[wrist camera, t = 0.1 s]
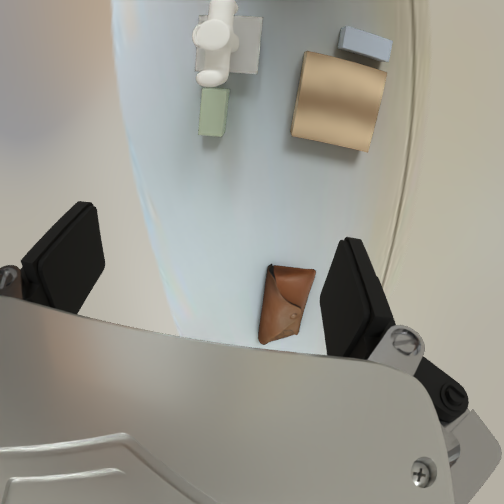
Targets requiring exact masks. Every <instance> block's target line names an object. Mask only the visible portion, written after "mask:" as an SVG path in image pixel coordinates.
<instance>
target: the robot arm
mask: <svg viewBox="0 0 504 504" xmlns="http://www.w3.org/2000/svg"><path fill="white" fill-rule="evenodd" d="M21 263H22V266H23V267H22V268H21V269H19V268H18V267H17V266H14V265H7V266H3V267H1V268H0V504H468V503H469V501H470V500H471V499H472V498H473V497H474V496H475V494H476V493H477V492H478V491H479V489H480V488H481V487H482V486H483V484H484V483H485V482H486V480H487V479H488V478H489V476H490V475H491V474H492V472H493V471H494V470H495V468H496V466H497V465H498V464H499V462H500V460H501V454H502V452H501V447H500V445H499V443H498V441H497V440H496V439H495V437H494V436H493V435H492V434H491V432H490V431H489V429H488V428H487V427H486V425H485V424H484V423H483V421H482V420H481V419H480V417H479V416H478V415H477V414H476V412H475V411H474V410H473V409H472V410H471V411H469V410H468V408H467V407H468V396H467V393H466V391H465V390H464V388H463V387H462V386H461V385H460V384H459V383H458V382H456V381H455V380H454V379H452V378H451V377H450V376H448V375H447V374H446V373H445V372H443V371H442V370H440V369H439V368H438V367H437V366H435V365H434V364H433V363H431V362H430V361H429V360H427V359H426V358H425V357H423V355H424V351H425V345H424V342H423V340H422V338H421V337H420V335H419V334H418V333H417V332H416V331H414V330H413V329H411V328H409V327H408V326H404V325H396V324H395V321H394V318H393V315H392V313H391V310H390V307H389V304H388V302H387V299H386V296H385V294H384V291H383V288H382V286H381V283H380V281H379V279H378V277H377V276H376V274H375V271H374V269H373V266H372V264H371V261H370V259H369V257H368V254H367V252H366V249H365V247H364V245H363V242H362V240H361V239H356V238H350V237H346V238H345V239H344V240H340V242H339V244H338V247H337V250H336V253H335V255H334V258H333V261H332V264H331V267H330V270H329V273H328V275H327V278H326V281H325V284H324V286H323V289H322V292H321V295H320V307H321V314H322V320H323V327H324V334H325V342H326V349H327V355H319V354H307V353H296V352H287V351H278V350H269V349H260V348H252V347H244V346H237V345H230V344H223V343H216V342H210V341H203V340H197V339H191V338H185V337H180V336H174V335H169V334H163V333H158V332H153V331H148V330H143V329H138V328H133V327H129V326H124V325H119V324H115V323H111V322H106V321H102V320H97V319H93V318H89V317H85V316H81V315H78V314H77V313H78V312H79V310H80V308H81V306H82V305H83V303H84V301H85V300H86V298H87V296H88V295H89V293H90V291H91V290H92V288H93V286H94V285H95V283H96V282H97V280H98V278H99V277H100V275H101V273H102V272H103V270H104V268H105V259H104V253H103V247H102V241H101V235H100V230H99V222H98V215H97V209H96V207H94V206H93V204H92V203H91V202H81V201H79V202H77V203H76V204H75V205H74V206H73V207H72V208H71V209H70V210H69V211H67V212H66V213H65V214H64V215H63V216H62V217H61V218H60V219H59V220H58V221H57V222H56V223H55V224H54V225H53V226H52V228H50V230H49V231H47V233H46V234H45V235H44V236H43V237H42V238H41V239H40V240H39V241H38V242H37V243H36V244H35V245H34V246H33V248H32V249H31V250H30V251H29V252H28V253H27V254H26V255H25V256H24V257H23V259H22V260H21Z"/></svg>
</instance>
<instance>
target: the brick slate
mask: <svg viewBox="0 0 504 504" xmlns="http://www.w3.org/2000/svg"><path fill="white" fill-rule="evenodd" d="M392 43H393V41H391V40H389V39H386V38H383V37H380V36H378V35H375V34H372V33H369V32H365V31H362V30H359V29H356V28H352V27H349V26H345V27H343V28H341V32H340V38H339V43H338V49H341V50H345V51H349V52H352V53H356V54H359V55H362V56H365V57H369V58H372V59H375V60H378V61H381V62H389V58H390V53H391V48H392Z"/></svg>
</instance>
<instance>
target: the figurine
mask: <svg viewBox="0 0 504 504" xmlns="http://www.w3.org/2000/svg"><path fill="white" fill-rule="evenodd" d="M237 11H238V5H237V4H236V2H235V1H234V0H211V2H210V5H209V14H208V15H199V22H198V25H197V26H196V27H195V29H194V31H193V34H192V39H193V42H194V44H195V46H197V47H196V62H195V71H201V72H199V73H198V74H197V76H196V81H197V83H198V84H199V85H201V86H204V87H215V86H219V85H221V84H223V83H225V82H226V81H227V79H228V76H229V72H232V73H248V74H257V73H258V62H259V52H260V42H261V32H262V22H263V17H252V16H234V14H235V13H237Z"/></svg>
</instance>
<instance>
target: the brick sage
mask: <svg viewBox="0 0 504 504" xmlns="http://www.w3.org/2000/svg"><path fill="white" fill-rule="evenodd" d="M229 91H230V89H224V88H212V87H206V88H203V89H202V96H201V106H200V118H199V130H198V135H206V136H216V137H222V136H223V134H224V133H225V126H226V117H227V108H228V100H229Z"/></svg>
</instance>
